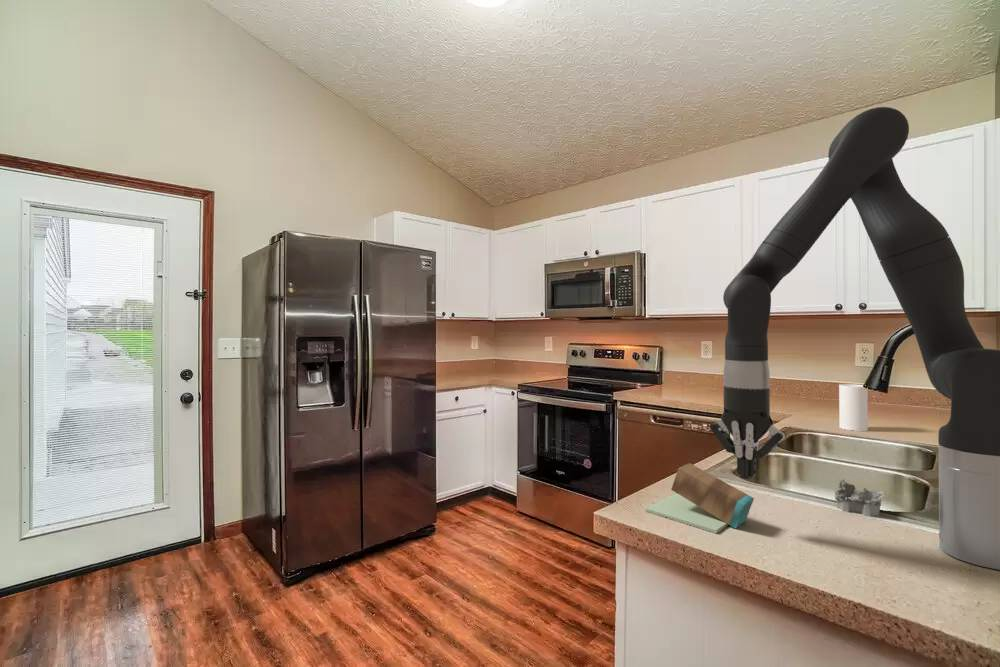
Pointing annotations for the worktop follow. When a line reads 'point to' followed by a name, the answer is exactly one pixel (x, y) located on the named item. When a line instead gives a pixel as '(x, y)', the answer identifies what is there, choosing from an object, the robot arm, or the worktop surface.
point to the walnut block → (712, 495)
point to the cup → (853, 407)
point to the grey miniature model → (858, 499)
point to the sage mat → (686, 513)
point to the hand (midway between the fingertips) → (746, 477)
